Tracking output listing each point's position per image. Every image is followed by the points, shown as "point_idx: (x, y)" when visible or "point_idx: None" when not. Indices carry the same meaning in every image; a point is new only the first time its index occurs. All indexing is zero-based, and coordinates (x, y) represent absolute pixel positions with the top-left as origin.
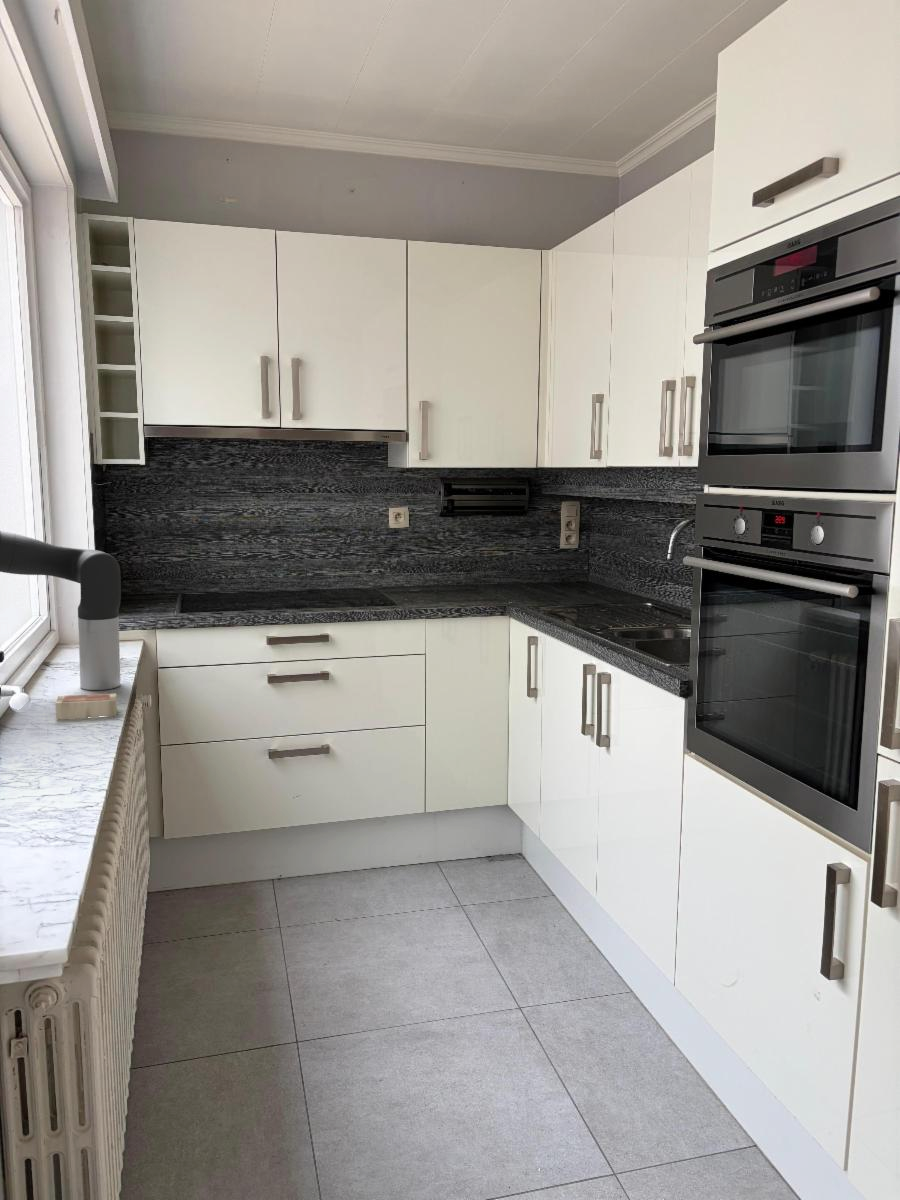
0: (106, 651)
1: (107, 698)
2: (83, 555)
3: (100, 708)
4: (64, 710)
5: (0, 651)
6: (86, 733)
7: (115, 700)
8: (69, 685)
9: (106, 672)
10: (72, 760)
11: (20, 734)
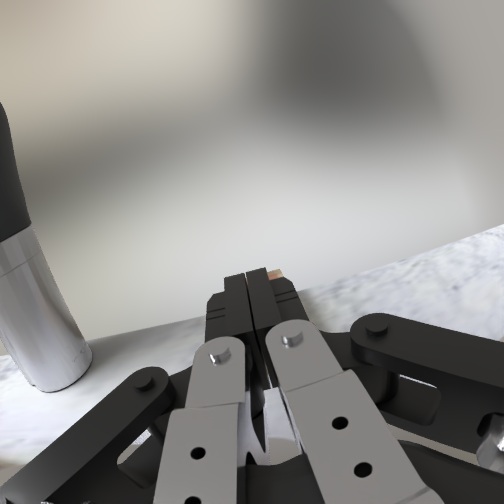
0: (57, 289)
1: (272, 276)
2: None
3: None
4: None
5: (238, 275)
6: (393, 287)
7: (278, 269)
8: (30, 409)
9: (77, 327)
10: (499, 250)
11: None
